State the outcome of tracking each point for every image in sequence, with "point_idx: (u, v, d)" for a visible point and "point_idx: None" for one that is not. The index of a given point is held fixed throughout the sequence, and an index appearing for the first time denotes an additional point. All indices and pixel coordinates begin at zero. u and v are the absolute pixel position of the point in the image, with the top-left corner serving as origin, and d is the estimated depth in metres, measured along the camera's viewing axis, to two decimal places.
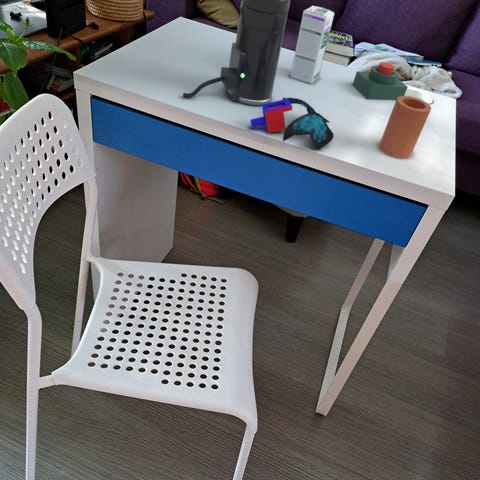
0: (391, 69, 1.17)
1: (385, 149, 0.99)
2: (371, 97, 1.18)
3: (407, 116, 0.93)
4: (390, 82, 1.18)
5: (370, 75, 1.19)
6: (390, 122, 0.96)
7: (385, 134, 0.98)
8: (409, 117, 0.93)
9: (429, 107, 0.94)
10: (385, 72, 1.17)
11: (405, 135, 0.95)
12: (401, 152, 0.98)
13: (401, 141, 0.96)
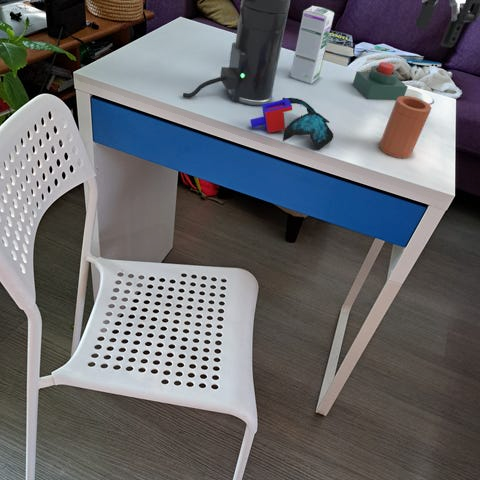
0: (391, 69, 1.17)
1: (385, 149, 0.99)
2: (371, 97, 1.18)
3: (407, 116, 0.93)
4: (390, 82, 1.18)
5: (370, 75, 1.19)
6: (390, 122, 0.96)
7: (385, 134, 0.98)
8: (409, 117, 0.93)
9: (429, 107, 0.94)
10: (385, 72, 1.17)
11: (405, 135, 0.95)
12: (401, 152, 0.98)
13: (401, 141, 0.96)
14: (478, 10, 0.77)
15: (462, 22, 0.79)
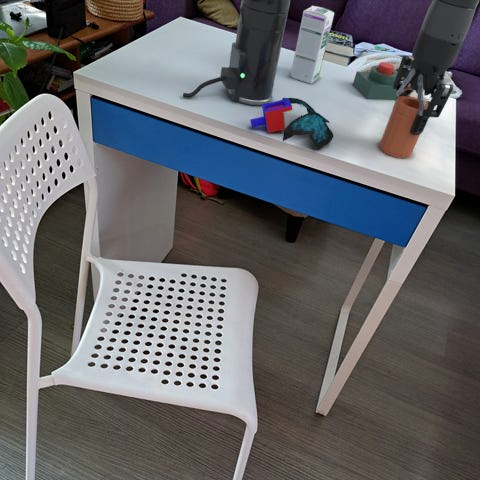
0: (391, 69, 1.17)
1: (385, 149, 0.99)
2: (371, 97, 1.18)
3: (407, 116, 0.93)
4: (390, 82, 1.18)
5: (370, 75, 1.19)
6: (390, 122, 0.96)
7: (385, 134, 0.98)
8: (409, 117, 0.93)
9: None
10: (385, 72, 1.17)
11: (405, 135, 0.95)
12: (401, 152, 0.98)
13: (401, 141, 0.96)
14: (440, 110, 0.89)
15: (427, 117, 0.91)
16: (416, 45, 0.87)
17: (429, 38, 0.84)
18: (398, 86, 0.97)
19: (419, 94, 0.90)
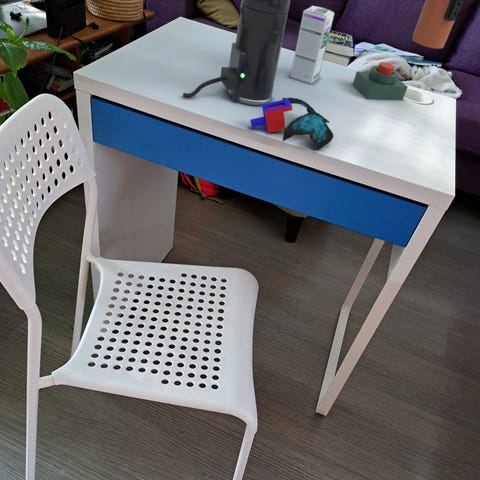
0: (391, 69, 1.17)
1: (418, 39, 1.01)
2: (371, 97, 1.18)
3: (442, 0, 0.95)
4: (390, 82, 1.18)
5: (370, 75, 1.19)
6: (424, 10, 0.98)
7: (418, 24, 1.00)
8: (444, 1, 0.95)
9: None
10: (385, 72, 1.17)
11: (439, 22, 0.97)
12: (434, 41, 1.00)
13: (435, 28, 0.98)
14: None
15: None
16: None
17: None
18: None
19: None
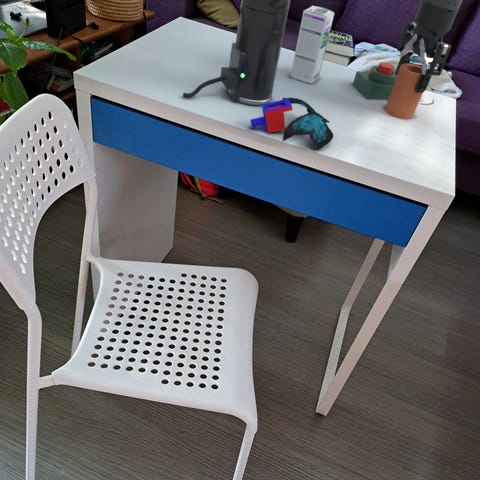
0: (391, 69, 1.17)
1: (390, 111, 1.13)
2: (371, 97, 1.18)
3: (410, 80, 1.07)
4: (390, 82, 1.18)
5: (370, 75, 1.19)
6: (394, 86, 1.11)
7: (390, 97, 1.13)
8: (411, 81, 1.07)
9: None
10: (385, 72, 1.17)
11: (408, 97, 1.10)
12: (404, 113, 1.12)
13: (404, 103, 1.11)
14: (441, 68, 1.03)
15: (430, 75, 1.05)
16: (418, 13, 1.01)
17: (429, 6, 0.98)
18: (402, 48, 1.11)
19: (422, 56, 1.04)
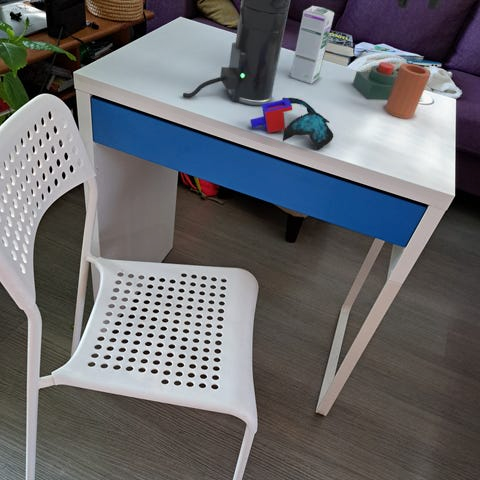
0: (391, 69, 1.17)
1: (390, 111, 1.13)
2: (371, 97, 1.18)
3: (410, 80, 1.07)
4: (390, 82, 1.18)
5: (370, 75, 1.19)
6: (394, 86, 1.11)
7: (390, 97, 1.13)
8: (411, 81, 1.07)
9: (429, 72, 1.08)
10: (385, 72, 1.17)
11: (408, 97, 1.10)
12: (404, 113, 1.12)
13: (404, 103, 1.11)
14: None
15: None
16: None
17: None
18: None
19: None
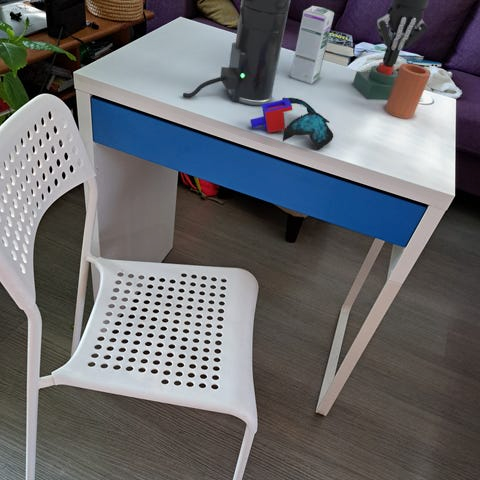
0: (391, 69, 1.17)
1: (390, 111, 1.13)
2: (371, 97, 1.18)
3: (410, 80, 1.07)
4: (390, 82, 1.18)
5: (370, 75, 1.19)
6: (394, 86, 1.11)
7: (390, 97, 1.13)
8: (411, 81, 1.07)
9: (429, 72, 1.08)
10: (385, 72, 1.17)
11: (408, 97, 1.10)
12: (404, 113, 1.12)
13: (404, 103, 1.11)
14: (384, 40, 1.12)
15: (388, 47, 1.14)
16: None
17: None
18: None
19: None
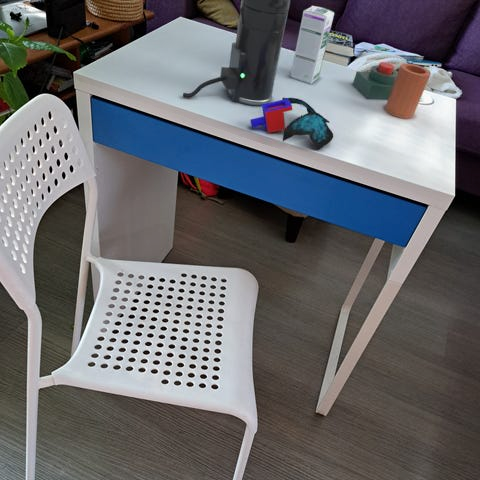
0: (391, 69, 1.17)
1: (390, 111, 1.13)
2: (371, 97, 1.18)
3: (410, 80, 1.07)
4: (390, 82, 1.18)
5: (370, 75, 1.19)
6: (394, 86, 1.11)
7: (390, 97, 1.13)
8: (411, 81, 1.07)
9: (429, 72, 1.08)
10: (385, 72, 1.17)
11: (408, 97, 1.10)
12: (404, 113, 1.12)
13: (404, 103, 1.11)
14: None
15: None
16: None
17: None
18: None
19: None
